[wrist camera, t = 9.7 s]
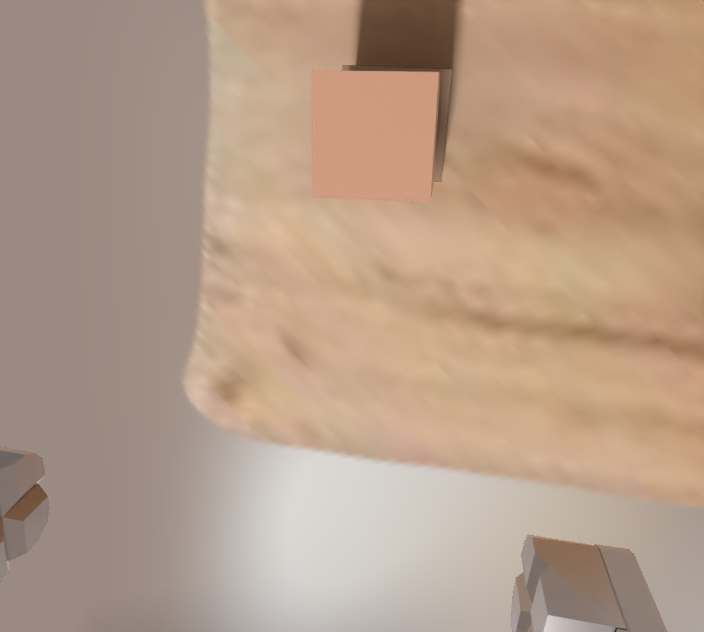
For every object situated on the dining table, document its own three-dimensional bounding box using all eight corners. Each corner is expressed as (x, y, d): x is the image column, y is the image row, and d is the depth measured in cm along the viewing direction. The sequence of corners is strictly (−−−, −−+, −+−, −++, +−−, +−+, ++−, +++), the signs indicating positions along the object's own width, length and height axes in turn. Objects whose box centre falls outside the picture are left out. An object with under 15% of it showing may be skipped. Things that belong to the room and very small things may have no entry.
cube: (334, 74, 28) (311, 70, 23) (440, 76, 27) (438, 71, 23) (333, 181, 30) (312, 196, 25) (433, 185, 29) (430, 202, 24)
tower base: (355, 69, 37) (342, 65, 32) (451, 72, 36) (452, 69, 32) (351, 166, 39) (338, 175, 34) (442, 171, 38) (441, 182, 34)
